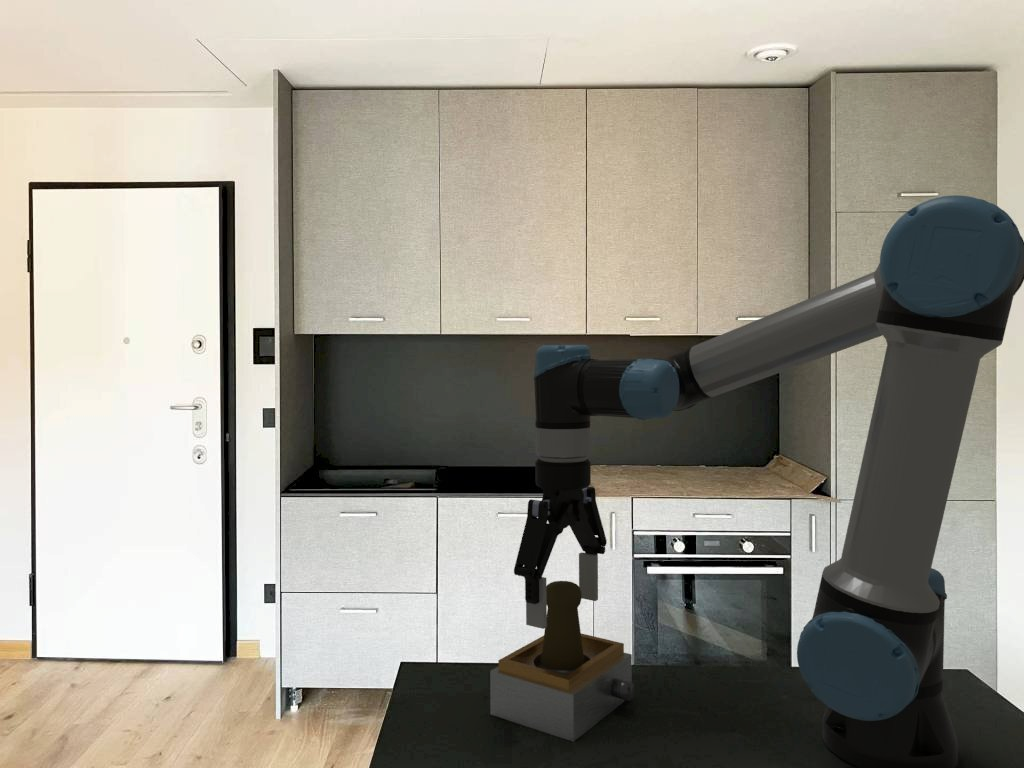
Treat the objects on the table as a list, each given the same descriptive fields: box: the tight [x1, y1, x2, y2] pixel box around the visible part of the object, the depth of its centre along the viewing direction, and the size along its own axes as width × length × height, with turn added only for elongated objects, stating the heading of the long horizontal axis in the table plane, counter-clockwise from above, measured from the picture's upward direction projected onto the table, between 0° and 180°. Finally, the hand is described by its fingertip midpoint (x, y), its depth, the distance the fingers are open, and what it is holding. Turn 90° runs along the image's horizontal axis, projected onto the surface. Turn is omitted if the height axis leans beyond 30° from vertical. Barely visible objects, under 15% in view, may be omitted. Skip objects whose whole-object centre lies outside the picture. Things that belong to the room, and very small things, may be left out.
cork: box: [541, 580, 584, 671], centre depth 110 cm, size 6×6×11 cm
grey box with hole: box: [489, 633, 636, 743], centre depth 110 cm, size 15×16×8 cm
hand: (563, 612), depth 110 cm, fingers open, 13 cm apart
